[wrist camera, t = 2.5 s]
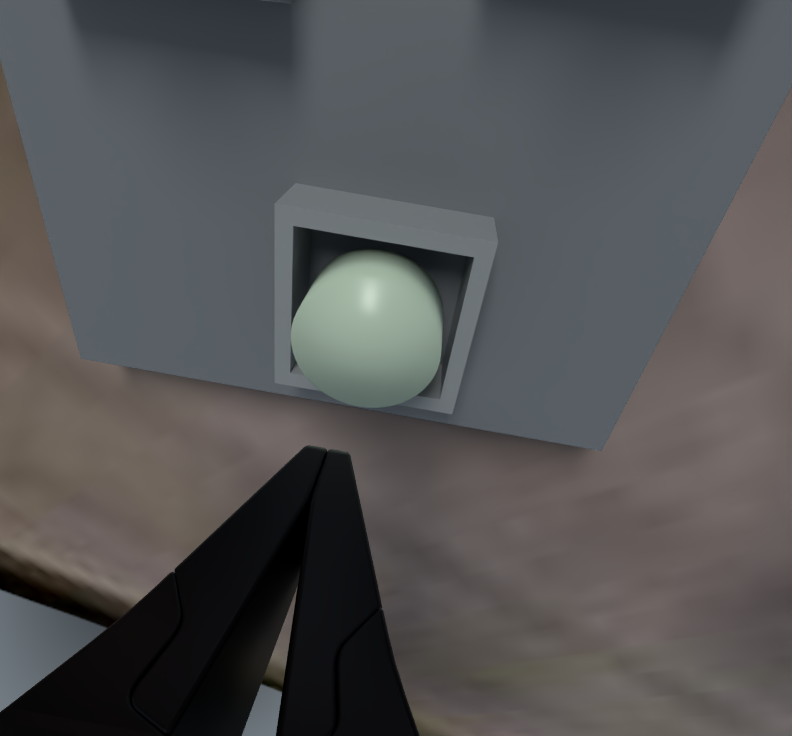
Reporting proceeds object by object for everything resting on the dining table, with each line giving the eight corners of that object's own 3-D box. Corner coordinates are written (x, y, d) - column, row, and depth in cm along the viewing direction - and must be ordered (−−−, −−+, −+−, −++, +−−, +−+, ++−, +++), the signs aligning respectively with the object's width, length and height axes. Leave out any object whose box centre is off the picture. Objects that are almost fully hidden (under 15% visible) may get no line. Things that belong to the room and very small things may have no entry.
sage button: (456, 261, 14) (455, 294, 12) (430, 378, 16) (426, 418, 14) (312, 236, 14) (291, 265, 12) (307, 356, 16) (289, 394, 14)
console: (1089, -629, 8) (1529, -1086, 5) (590, 416, 21) (614, 491, 17) (-143, -823, 8) (-552, -1397, 5) (110, 331, 21) (45, 390, 17)
